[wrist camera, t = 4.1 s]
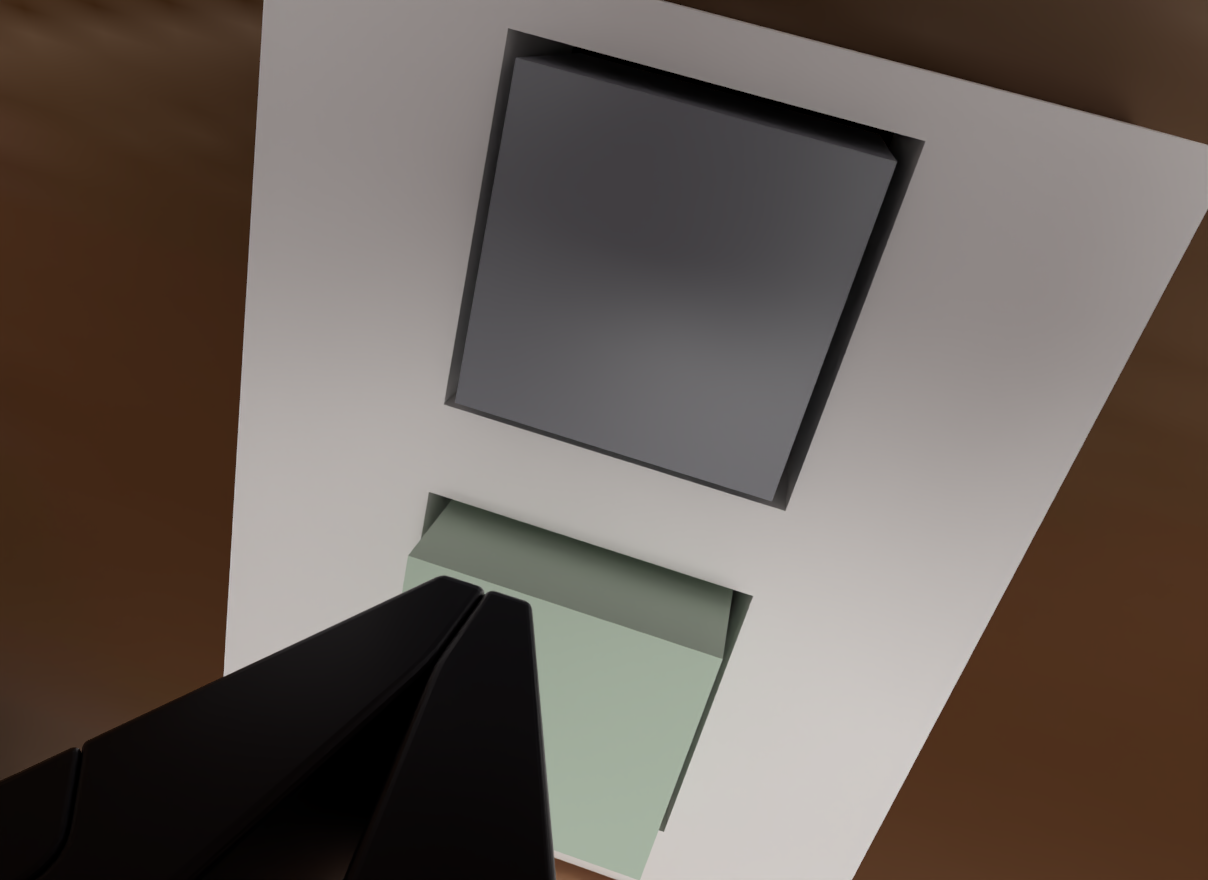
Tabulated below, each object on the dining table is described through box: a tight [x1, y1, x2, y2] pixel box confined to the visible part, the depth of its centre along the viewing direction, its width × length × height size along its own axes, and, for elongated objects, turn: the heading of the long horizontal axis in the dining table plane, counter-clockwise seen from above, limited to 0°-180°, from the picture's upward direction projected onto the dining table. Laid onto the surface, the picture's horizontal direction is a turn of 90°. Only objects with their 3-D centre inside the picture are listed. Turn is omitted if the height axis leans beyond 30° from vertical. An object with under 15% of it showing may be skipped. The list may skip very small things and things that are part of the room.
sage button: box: [402, 499, 733, 880], centre depth 17 cm, size 5×5×4 cm
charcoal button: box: [455, 53, 897, 501], centre depth 15 cm, size 5×5×4 cm
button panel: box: [224, 0, 1208, 880], centre depth 19 cm, size 22×13×4 cm, turn 167°
